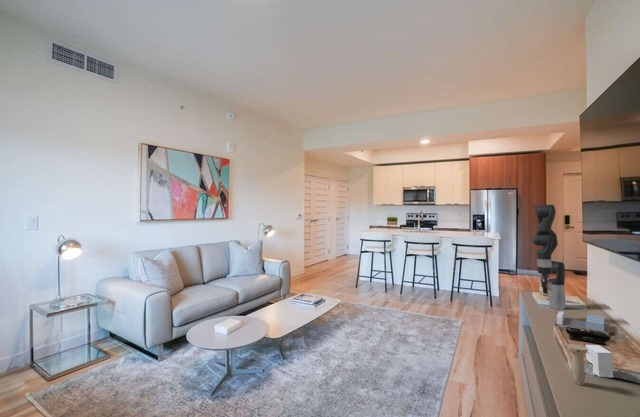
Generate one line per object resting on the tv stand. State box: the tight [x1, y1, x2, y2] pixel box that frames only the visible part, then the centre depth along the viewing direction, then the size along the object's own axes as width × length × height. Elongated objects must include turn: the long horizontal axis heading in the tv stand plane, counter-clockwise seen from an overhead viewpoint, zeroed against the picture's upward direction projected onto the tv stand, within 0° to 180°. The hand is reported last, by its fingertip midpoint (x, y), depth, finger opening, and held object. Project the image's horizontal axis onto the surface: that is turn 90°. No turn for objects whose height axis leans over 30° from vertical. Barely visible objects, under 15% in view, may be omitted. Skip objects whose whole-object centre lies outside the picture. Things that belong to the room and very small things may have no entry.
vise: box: [554, 309, 610, 334], centre depth 182 cm, size 16×24×6 cm, turn 46°
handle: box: [566, 343, 588, 386], centre depth 125 cm, size 5×6×15 cm
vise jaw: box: [585, 313, 606, 332], centre depth 178 cm, size 16×8×4 cm, turn 136°
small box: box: [585, 344, 615, 378], centre depth 132 cm, size 8×6×10 cm
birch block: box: [538, 280, 552, 297], centre depth 194 cm, size 4×6×8 cm, turn 46°
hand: (545, 292), depth 194 cm, fingers closed on birch block, 4 cm apart
